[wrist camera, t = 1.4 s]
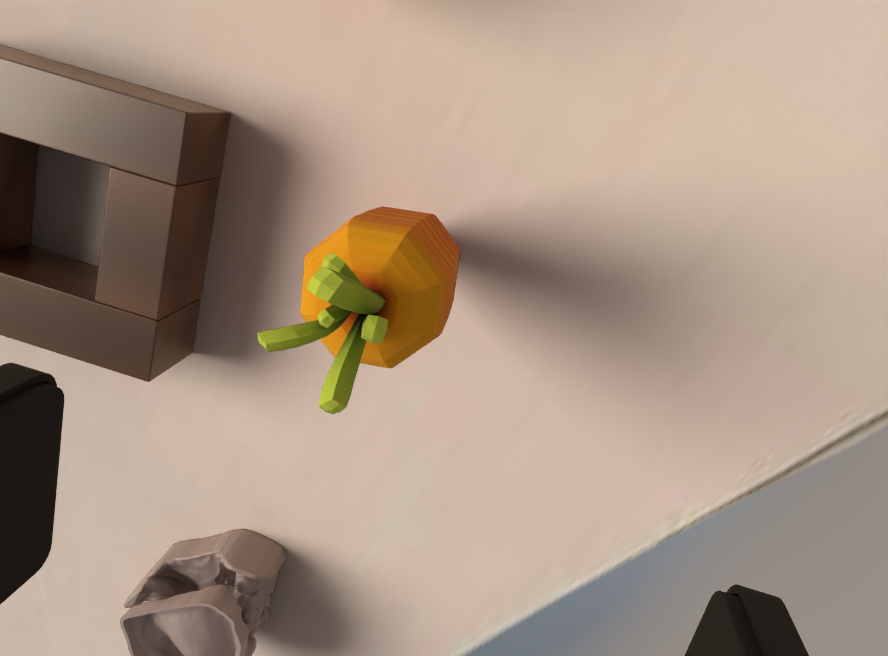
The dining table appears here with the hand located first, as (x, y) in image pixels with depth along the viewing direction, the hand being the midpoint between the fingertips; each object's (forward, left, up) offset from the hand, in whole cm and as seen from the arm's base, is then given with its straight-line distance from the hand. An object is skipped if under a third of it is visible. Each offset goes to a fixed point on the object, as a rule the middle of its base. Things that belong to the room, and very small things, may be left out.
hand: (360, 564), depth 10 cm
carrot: (0, -3, -23) cm, 24 cm away
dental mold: (+22, -9, -23) cm, 34 cm away
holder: (+3, -19, -23) cm, 30 cm away
